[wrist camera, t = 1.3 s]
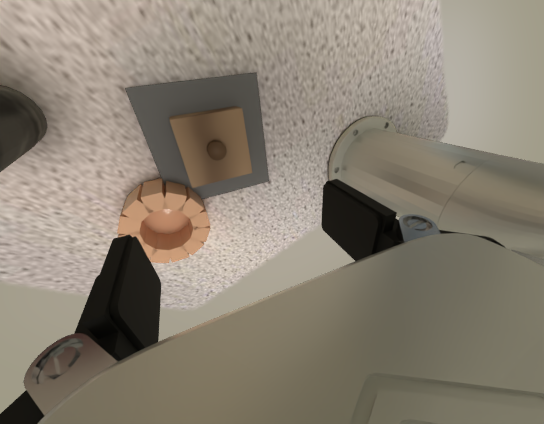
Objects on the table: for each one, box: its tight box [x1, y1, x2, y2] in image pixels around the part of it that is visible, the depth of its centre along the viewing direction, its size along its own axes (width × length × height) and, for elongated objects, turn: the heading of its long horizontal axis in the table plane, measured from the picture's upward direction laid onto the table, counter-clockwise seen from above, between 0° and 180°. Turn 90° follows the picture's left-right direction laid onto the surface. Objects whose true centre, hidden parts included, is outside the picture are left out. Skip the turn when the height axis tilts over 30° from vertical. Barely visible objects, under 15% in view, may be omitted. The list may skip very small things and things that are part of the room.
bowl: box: [117, 178, 210, 263], centre depth 24 cm, size 9×9×4 cm
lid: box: [169, 106, 252, 188], centre depth 22 cm, size 7×7×3 cm
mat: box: [125, 73, 269, 199], centre depth 24 cm, size 12×12×1 cm
